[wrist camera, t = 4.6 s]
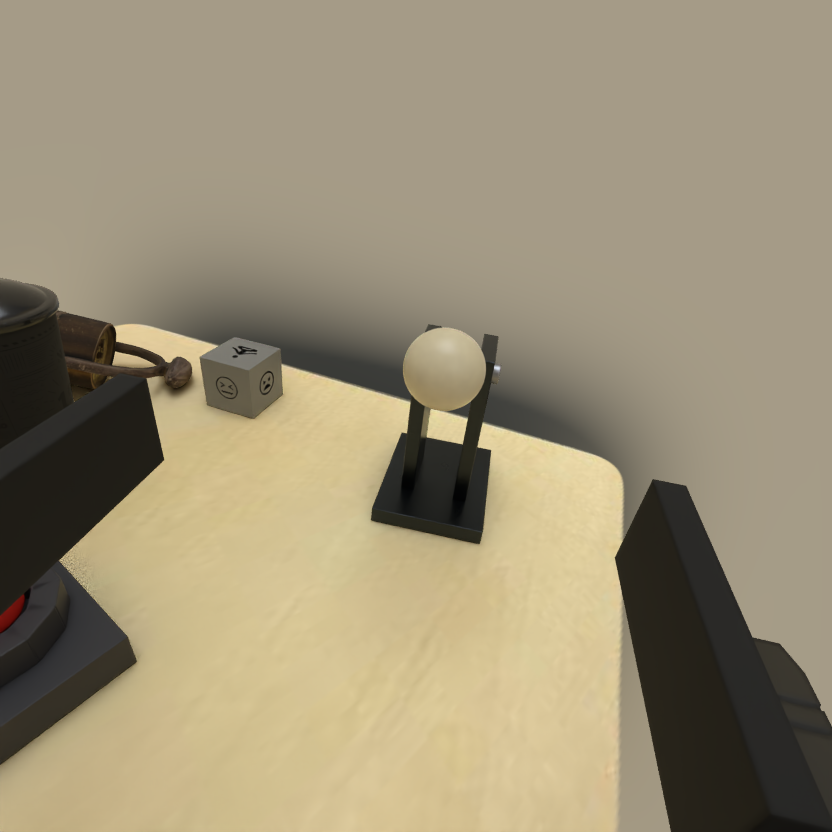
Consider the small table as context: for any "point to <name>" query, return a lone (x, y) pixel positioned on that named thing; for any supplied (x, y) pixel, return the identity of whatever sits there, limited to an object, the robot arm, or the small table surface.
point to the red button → (11, 614)
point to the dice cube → (242, 376)
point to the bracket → (440, 471)
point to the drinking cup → (30, 359)
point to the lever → (444, 369)
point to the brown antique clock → (109, 354)
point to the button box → (55, 657)
